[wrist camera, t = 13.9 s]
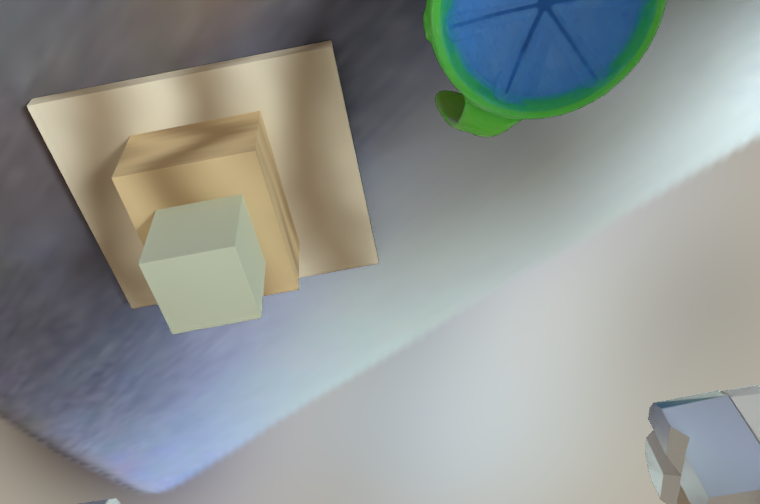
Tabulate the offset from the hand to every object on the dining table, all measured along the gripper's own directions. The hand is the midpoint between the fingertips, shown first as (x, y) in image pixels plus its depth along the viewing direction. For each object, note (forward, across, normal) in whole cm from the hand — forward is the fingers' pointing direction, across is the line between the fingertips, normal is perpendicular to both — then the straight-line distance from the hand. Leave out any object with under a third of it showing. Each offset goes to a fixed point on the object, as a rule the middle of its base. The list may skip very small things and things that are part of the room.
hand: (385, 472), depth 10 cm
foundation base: (+33, +10, +13) cm, 37 cm away
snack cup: (+33, -9, +2) cm, 35 cm away
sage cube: (+27, +10, +13) cm, 32 cm away
